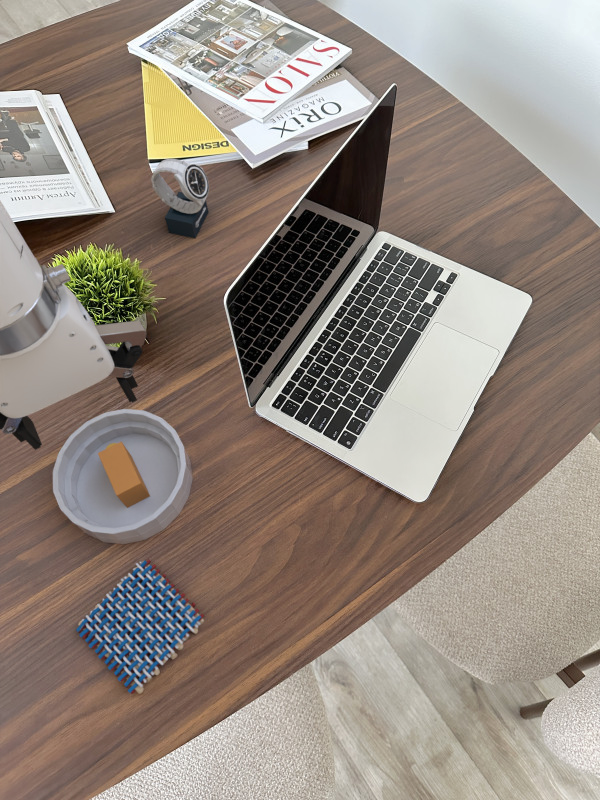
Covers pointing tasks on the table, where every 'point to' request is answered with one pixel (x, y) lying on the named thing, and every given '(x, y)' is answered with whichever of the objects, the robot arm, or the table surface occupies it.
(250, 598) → the table surface
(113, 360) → the robot arm
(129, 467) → the brown rectangular block
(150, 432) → the gray bowl
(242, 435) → the table surface
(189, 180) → the watch
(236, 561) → the table surface
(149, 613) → the woven mat
